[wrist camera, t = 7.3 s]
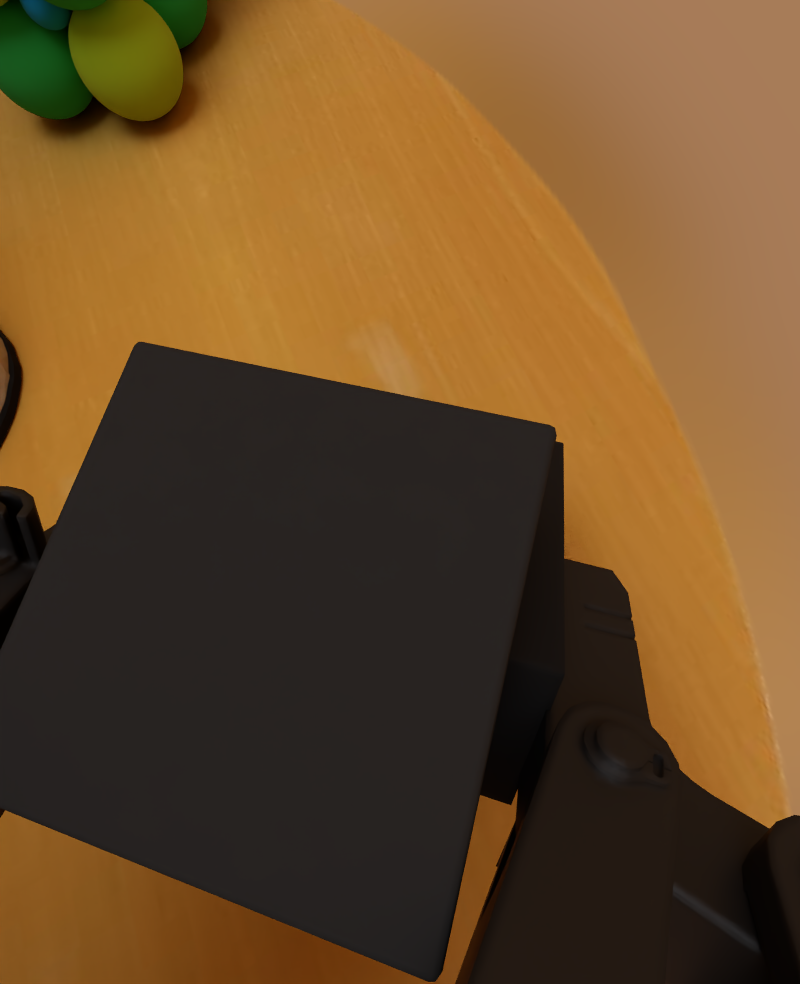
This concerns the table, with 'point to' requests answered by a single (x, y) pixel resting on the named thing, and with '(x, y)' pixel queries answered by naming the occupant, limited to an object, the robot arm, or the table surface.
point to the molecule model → (96, 54)
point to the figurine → (8, 384)
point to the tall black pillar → (277, 643)
